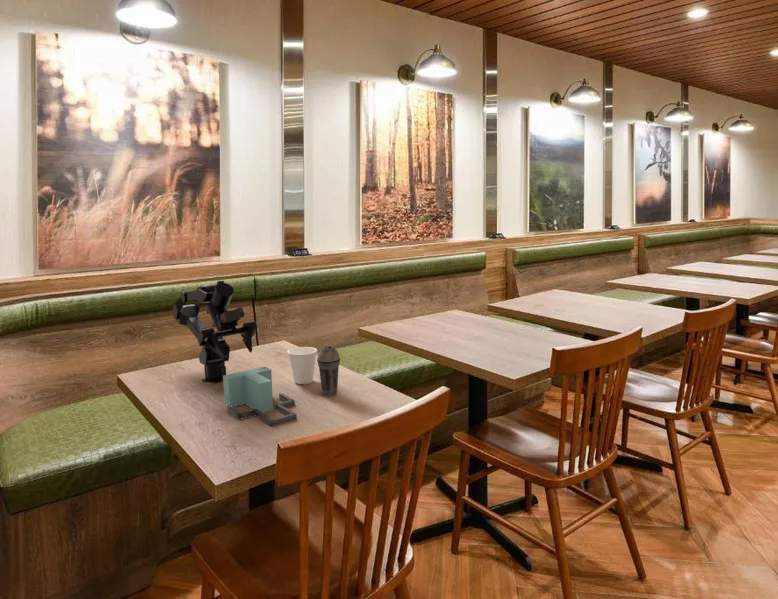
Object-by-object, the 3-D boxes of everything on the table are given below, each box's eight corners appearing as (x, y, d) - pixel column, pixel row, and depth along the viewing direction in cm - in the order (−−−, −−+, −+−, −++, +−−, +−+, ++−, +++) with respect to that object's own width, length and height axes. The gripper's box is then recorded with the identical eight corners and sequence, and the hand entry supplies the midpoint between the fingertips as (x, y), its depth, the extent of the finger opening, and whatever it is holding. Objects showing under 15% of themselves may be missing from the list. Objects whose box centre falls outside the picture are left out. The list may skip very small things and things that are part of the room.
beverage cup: (344, 392, 186) (343, 331, 182) (335, 399, 179) (333, 336, 175) (324, 389, 188) (322, 329, 184) (314, 397, 181) (311, 335, 178)
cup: (312, 387, 190) (311, 355, 188) (284, 385, 192) (282, 353, 190) (322, 378, 200) (321, 347, 198) (294, 376, 202) (293, 346, 200)
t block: (224, 403, 176) (222, 375, 175) (266, 393, 185) (265, 366, 183) (244, 417, 166) (242, 387, 164) (288, 406, 174) (286, 377, 172)
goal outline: (227, 411, 170) (226, 406, 170) (282, 397, 181) (281, 393, 181) (254, 430, 156) (254, 425, 156) (312, 414, 167) (311, 409, 167)
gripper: (198, 304, 179) (216, 344, 172) (253, 296, 190) (272, 334, 184) (190, 326, 186) (207, 365, 179) (244, 317, 198) (261, 354, 191)
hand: (238, 354), depth 183 cm, fingers open, 9 cm apart
